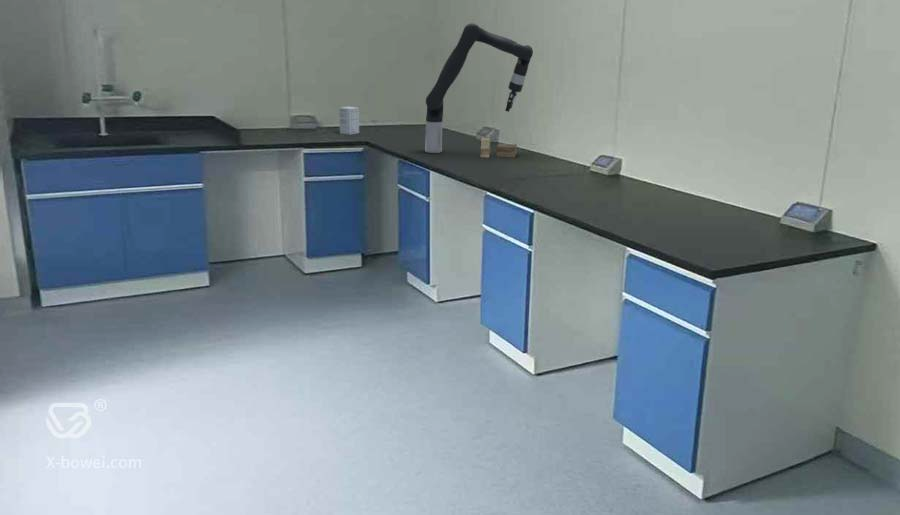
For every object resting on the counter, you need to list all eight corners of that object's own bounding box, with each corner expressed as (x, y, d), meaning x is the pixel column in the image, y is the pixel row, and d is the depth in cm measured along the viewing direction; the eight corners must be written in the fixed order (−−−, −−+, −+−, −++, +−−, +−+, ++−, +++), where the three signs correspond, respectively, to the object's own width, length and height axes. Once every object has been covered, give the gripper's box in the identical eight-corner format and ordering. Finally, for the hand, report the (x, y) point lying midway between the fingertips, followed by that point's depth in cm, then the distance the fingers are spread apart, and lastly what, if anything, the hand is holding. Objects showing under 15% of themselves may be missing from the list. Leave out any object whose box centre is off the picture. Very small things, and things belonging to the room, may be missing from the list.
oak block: (488, 157, 407) (489, 139, 404) (480, 157, 408) (481, 139, 405) (489, 156, 411) (490, 138, 408) (481, 155, 412) (482, 137, 409)
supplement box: (349, 132, 490) (348, 106, 485) (359, 133, 485) (359, 107, 480) (339, 133, 483) (338, 107, 478) (349, 134, 478) (349, 108, 473)
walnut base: (514, 157, 409) (515, 147, 408) (496, 156, 411) (497, 146, 409) (516, 155, 419) (516, 144, 417) (498, 154, 421) (499, 143, 419)
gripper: (512, 77, 414) (503, 105, 421) (508, 81, 401) (499, 110, 408) (525, 81, 413) (516, 109, 420) (521, 86, 401) (512, 114, 408)
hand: (508, 109), depth 414 cm, fingers open, 8 cm apart
